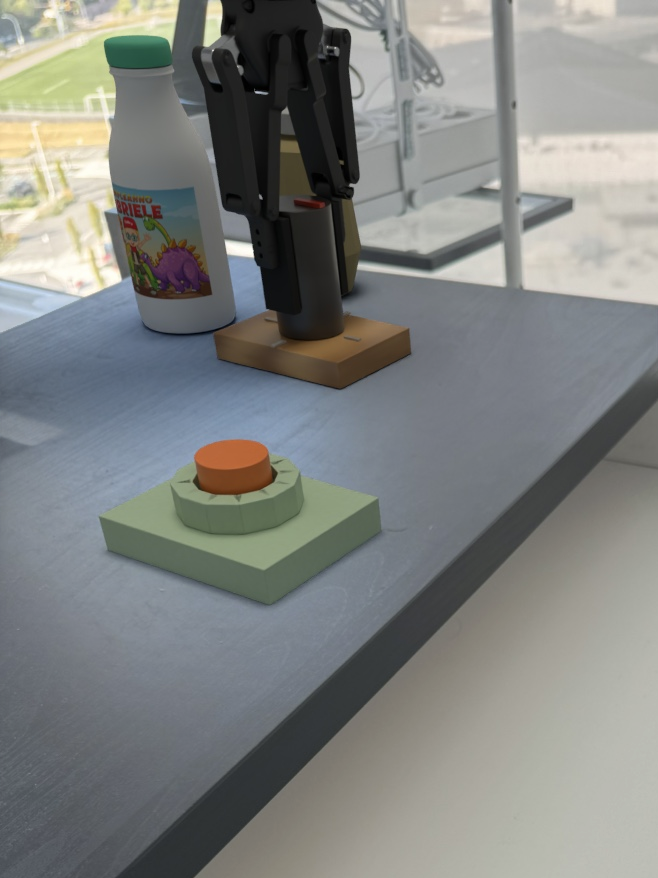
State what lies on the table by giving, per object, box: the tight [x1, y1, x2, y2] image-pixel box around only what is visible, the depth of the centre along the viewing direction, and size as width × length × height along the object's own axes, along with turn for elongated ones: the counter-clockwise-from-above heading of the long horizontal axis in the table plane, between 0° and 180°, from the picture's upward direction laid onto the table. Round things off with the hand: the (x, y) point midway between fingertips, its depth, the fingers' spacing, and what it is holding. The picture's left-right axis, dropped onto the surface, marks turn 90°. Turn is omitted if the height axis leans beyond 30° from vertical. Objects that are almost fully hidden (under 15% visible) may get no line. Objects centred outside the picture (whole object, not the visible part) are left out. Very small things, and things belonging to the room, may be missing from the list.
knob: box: [276, 195, 345, 340], centre depth 87 cm, size 5×5×9 cm
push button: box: [193, 438, 273, 495], centre depth 65 cm, size 4×4×2 cm
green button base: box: [98, 452, 383, 606], centre depth 67 cm, size 12×10×4 cm
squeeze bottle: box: [280, 107, 362, 297], centre depth 98 cm, size 8×8×18 cm
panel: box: [212, 309, 412, 390], centre depth 91 cm, size 12×9×2 cm
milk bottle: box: [103, 34, 237, 334], centre depth 91 cm, size 8×8×20 cm
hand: (308, 300), depth 89 cm, fingers closed on knob, 5 cm apart
